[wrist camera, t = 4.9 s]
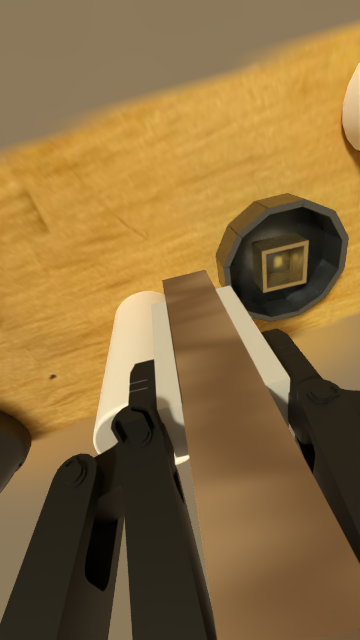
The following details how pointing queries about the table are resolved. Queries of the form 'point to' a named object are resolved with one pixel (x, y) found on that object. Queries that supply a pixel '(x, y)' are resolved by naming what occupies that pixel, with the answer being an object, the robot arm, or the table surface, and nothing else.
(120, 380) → the cup
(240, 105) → the table surface
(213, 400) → the square wooden stick
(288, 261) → the bowl
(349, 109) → the potion bottle
